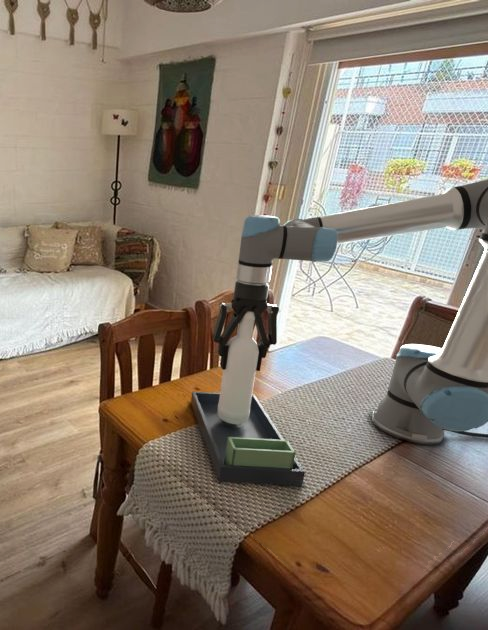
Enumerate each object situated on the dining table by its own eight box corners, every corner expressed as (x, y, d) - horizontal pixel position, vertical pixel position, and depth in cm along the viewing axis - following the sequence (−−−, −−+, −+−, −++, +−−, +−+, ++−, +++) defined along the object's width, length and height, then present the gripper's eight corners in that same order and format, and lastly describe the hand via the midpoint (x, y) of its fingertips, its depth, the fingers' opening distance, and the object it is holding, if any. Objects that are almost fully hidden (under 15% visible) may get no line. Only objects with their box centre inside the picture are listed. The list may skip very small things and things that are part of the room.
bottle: (243, 409, 120) (260, 305, 111) (252, 425, 113) (270, 315, 103) (214, 408, 121) (227, 304, 111) (220, 423, 114) (235, 314, 104)
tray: (190, 403, 128) (192, 391, 127) (252, 406, 127) (254, 394, 125) (219, 481, 96) (221, 466, 95) (301, 486, 95) (305, 471, 94)
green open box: (223, 462, 101) (227, 436, 99) (281, 466, 100) (287, 439, 98) (229, 475, 97) (233, 449, 94) (289, 479, 96) (295, 452, 93)
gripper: (290, 279, 108) (275, 363, 115) (205, 276, 109) (195, 360, 117) (303, 287, 101) (286, 376, 108) (211, 284, 102) (201, 372, 110)
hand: (239, 367), depth 112 cm, fingers closed on bottle, 8 cm apart
